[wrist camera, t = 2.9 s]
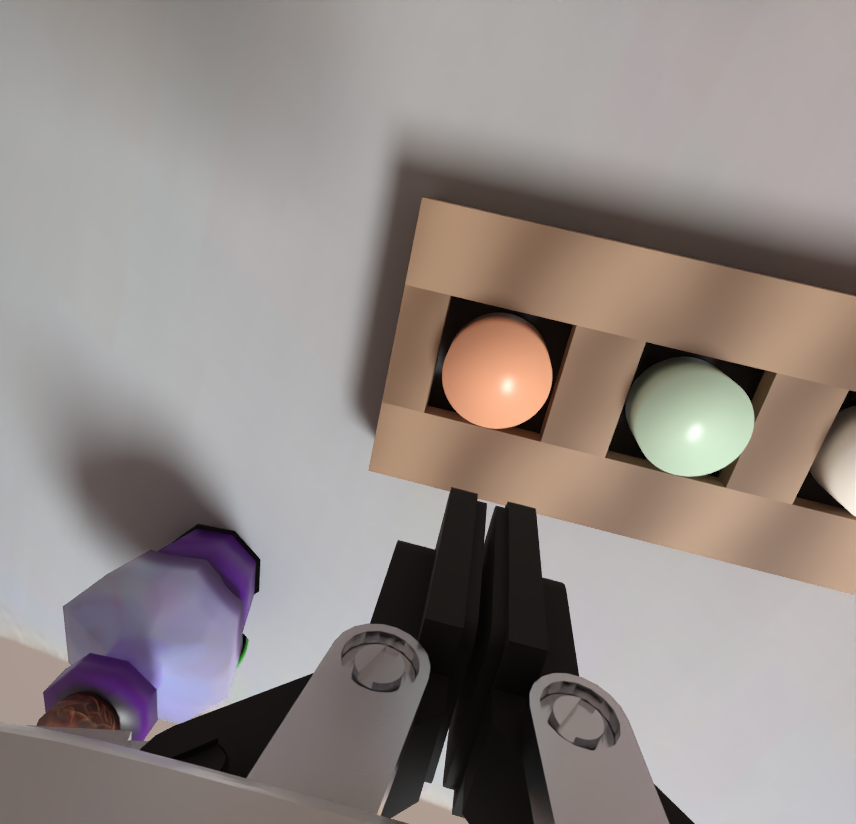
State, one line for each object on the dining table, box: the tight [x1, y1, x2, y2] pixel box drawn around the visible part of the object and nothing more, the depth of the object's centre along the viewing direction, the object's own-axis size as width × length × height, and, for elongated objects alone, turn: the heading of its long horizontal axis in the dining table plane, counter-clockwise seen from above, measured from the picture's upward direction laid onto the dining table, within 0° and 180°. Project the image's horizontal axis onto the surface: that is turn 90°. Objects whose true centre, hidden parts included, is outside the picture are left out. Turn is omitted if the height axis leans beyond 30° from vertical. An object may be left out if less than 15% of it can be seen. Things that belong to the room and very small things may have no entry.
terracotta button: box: [442, 313, 552, 429], centre depth 25 cm, size 4×4×2 cm
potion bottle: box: [37, 524, 260, 741], centre depth 28 cm, size 9×9×12 cm
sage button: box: [625, 357, 754, 477], centre depth 24 cm, size 4×4×2 cm
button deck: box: [369, 197, 856, 595], centre depth 25 cm, size 25×12×3 cm, turn 78°
